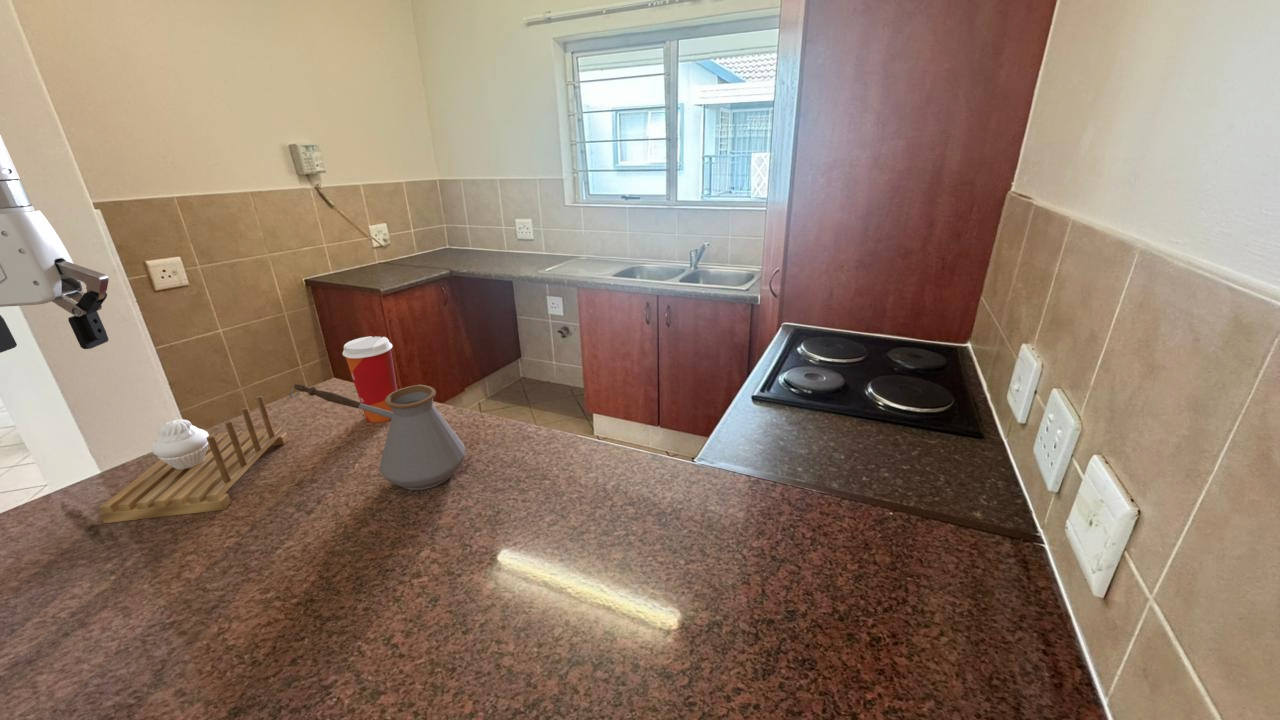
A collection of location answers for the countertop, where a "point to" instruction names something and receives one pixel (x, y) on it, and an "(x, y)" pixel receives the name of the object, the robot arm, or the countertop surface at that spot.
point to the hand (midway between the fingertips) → (49, 348)
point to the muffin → (181, 444)
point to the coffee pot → (410, 437)
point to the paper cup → (372, 372)
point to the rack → (195, 476)
